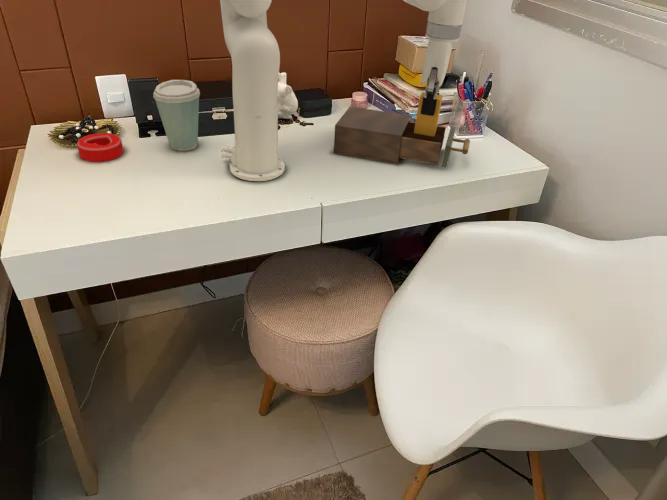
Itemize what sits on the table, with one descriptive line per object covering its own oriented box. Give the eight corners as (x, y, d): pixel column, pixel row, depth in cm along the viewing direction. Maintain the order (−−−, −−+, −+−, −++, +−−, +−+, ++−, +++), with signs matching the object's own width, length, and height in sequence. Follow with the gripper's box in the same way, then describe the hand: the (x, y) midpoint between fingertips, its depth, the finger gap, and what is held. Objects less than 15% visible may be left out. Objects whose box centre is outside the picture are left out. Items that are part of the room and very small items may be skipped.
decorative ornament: (126, 144, 129) (124, 132, 128) (119, 161, 122) (117, 148, 120) (84, 144, 128) (82, 132, 126) (75, 162, 120) (72, 149, 118)
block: (413, 133, 129) (419, 96, 124) (416, 127, 132) (422, 92, 127) (433, 136, 128) (441, 100, 123) (435, 131, 131) (442, 95, 126)
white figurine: (268, 112, 152) (268, 70, 146) (290, 110, 155) (290, 69, 148) (277, 123, 146) (277, 80, 139) (300, 121, 149) (301, 78, 142)
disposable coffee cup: (195, 157, 126) (189, 95, 117) (152, 152, 127) (143, 90, 118) (211, 140, 134) (206, 81, 126) (170, 135, 135) (163, 76, 127)
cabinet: (407, 142, 140) (411, 115, 136) (397, 164, 129) (401, 135, 125) (347, 132, 144) (349, 106, 139) (333, 153, 132) (335, 124, 128)
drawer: (467, 150, 136) (472, 129, 133) (463, 171, 126) (468, 149, 123) (393, 138, 140) (396, 117, 137) (383, 157, 130) (386, 135, 126)
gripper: (431, 22, 124) (418, 98, 134) (421, 36, 111) (407, 120, 121) (463, 26, 123) (447, 103, 133) (456, 41, 109) (440, 125, 119)
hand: (428, 110), depth 127 cm, fingers closed on block, 4 cm apart
